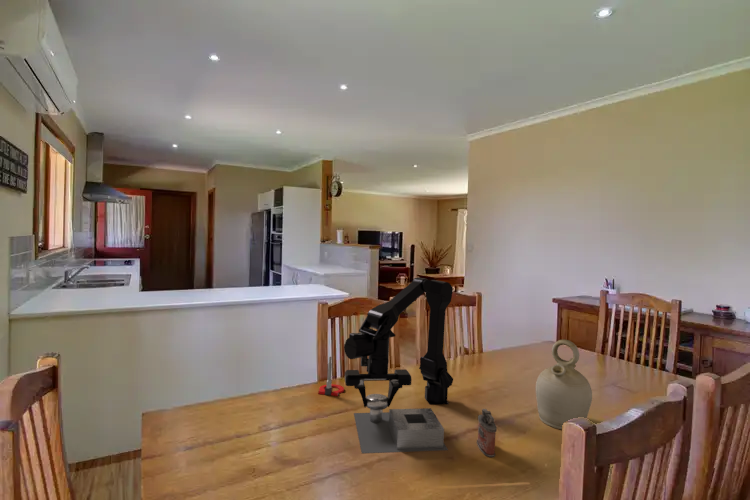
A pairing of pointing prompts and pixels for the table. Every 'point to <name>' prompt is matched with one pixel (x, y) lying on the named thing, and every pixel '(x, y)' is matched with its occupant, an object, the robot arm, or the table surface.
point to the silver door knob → (376, 406)
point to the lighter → (486, 433)
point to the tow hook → (328, 388)
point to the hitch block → (415, 429)
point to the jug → (562, 390)
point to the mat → (379, 435)
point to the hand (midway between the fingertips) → (376, 406)
